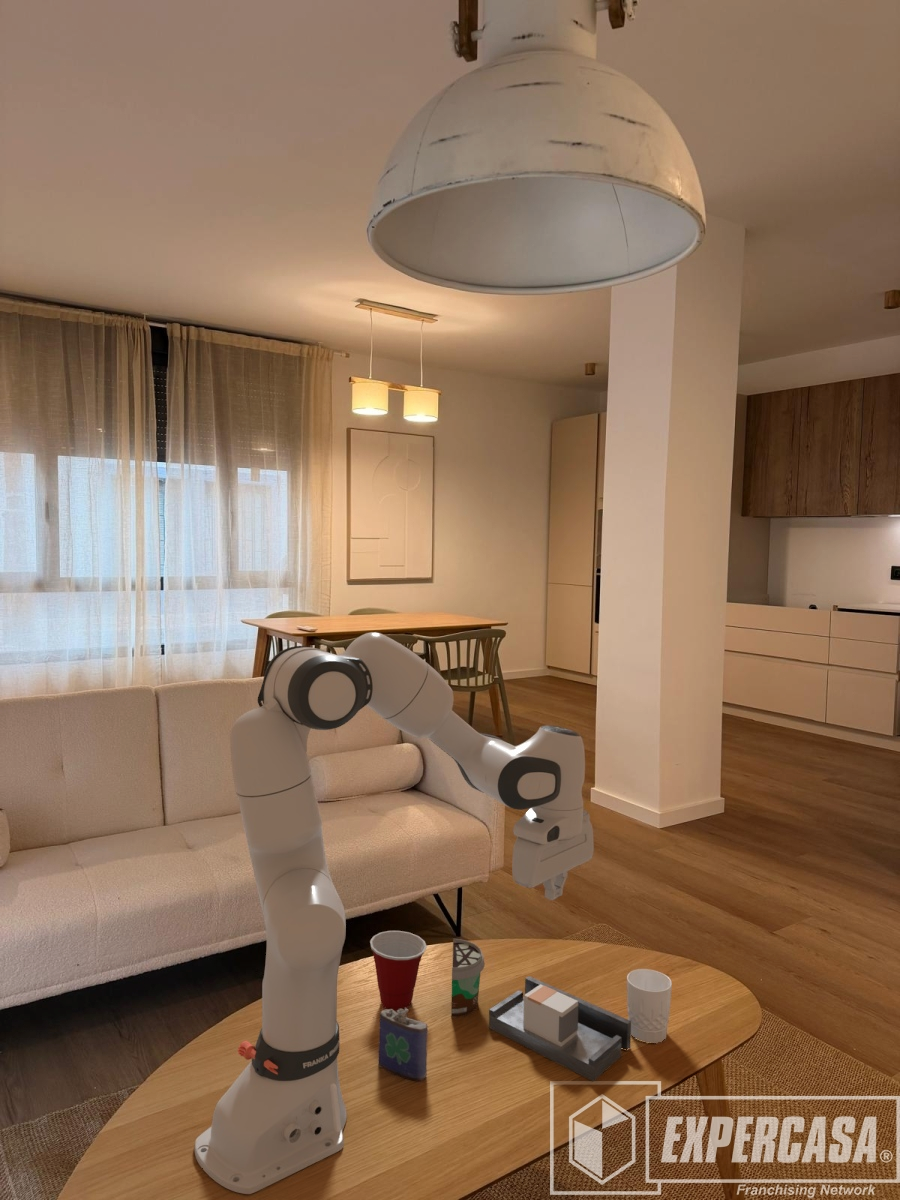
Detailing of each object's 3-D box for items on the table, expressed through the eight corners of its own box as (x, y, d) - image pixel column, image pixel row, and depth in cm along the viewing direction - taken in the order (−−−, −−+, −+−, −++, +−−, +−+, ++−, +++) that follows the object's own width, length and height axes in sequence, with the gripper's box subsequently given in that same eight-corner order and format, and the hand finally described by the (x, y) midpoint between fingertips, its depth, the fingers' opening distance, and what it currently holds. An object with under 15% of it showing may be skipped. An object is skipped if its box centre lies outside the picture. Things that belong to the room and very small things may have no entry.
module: (561, 1047, 139) (562, 1012, 139) (523, 1028, 145) (523, 995, 144) (577, 1034, 143) (578, 1000, 143) (539, 1016, 149) (540, 983, 148)
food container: (484, 1022, 151) (485, 970, 150) (451, 1021, 151) (452, 969, 150) (483, 987, 163) (484, 938, 162) (452, 986, 163) (453, 937, 162)
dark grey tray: (593, 1081, 134) (594, 1052, 134) (488, 1028, 149) (489, 1001, 149) (630, 1048, 143) (631, 1021, 143) (528, 1001, 158) (529, 976, 158)
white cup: (668, 1050, 143) (670, 995, 143) (622, 1040, 146) (624, 986, 145) (671, 1025, 151) (673, 973, 150) (627, 1017, 153) (629, 965, 153)
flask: (429, 1075, 135) (430, 1013, 134) (419, 1085, 133) (420, 1021, 132) (383, 1057, 140) (384, 996, 139) (373, 1066, 137) (374, 1004, 137)
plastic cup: (424, 1019, 151) (425, 956, 150) (366, 1018, 151) (367, 955, 150) (426, 988, 162) (427, 929, 161) (372, 987, 162) (372, 928, 161)
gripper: (574, 802, 152) (571, 875, 152) (507, 827, 136) (504, 909, 137) (604, 810, 147) (600, 885, 148) (538, 837, 132) (534, 921, 133)
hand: (553, 897), depth 143 cm, fingers closed
